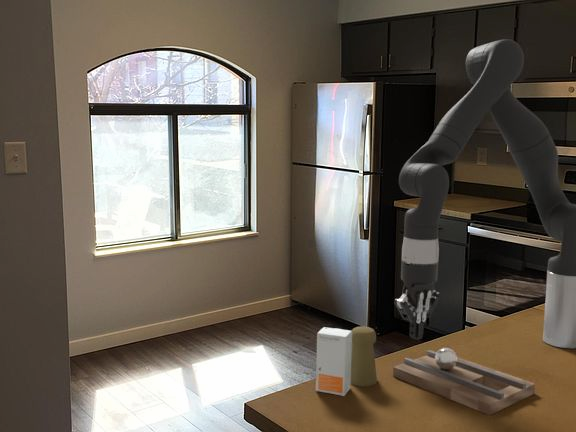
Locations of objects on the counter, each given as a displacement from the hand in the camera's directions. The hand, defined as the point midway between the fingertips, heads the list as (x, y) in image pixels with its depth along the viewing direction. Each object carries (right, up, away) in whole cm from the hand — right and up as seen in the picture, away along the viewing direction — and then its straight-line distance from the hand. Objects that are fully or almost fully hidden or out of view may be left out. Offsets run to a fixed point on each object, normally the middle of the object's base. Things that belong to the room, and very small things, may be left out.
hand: (416, 338), depth 139 cm
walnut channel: (+8, -8, -8) cm, 13 cm away
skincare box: (-18, -8, -11) cm, 23 cm away
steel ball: (+5, -3, -6) cm, 8 cm away
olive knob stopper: (-12, -8, -6) cm, 15 cm away
